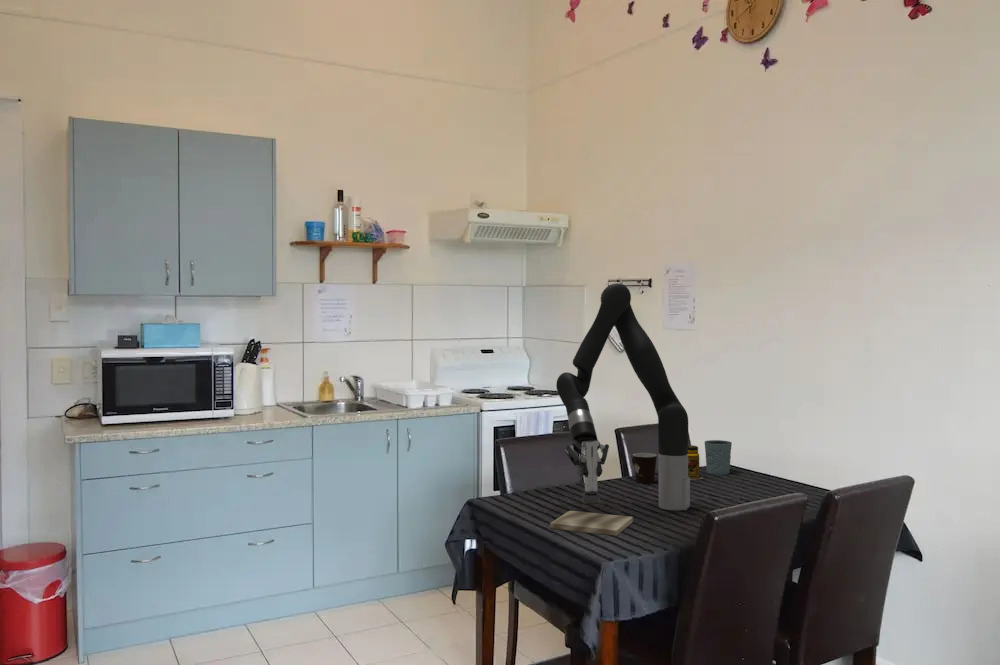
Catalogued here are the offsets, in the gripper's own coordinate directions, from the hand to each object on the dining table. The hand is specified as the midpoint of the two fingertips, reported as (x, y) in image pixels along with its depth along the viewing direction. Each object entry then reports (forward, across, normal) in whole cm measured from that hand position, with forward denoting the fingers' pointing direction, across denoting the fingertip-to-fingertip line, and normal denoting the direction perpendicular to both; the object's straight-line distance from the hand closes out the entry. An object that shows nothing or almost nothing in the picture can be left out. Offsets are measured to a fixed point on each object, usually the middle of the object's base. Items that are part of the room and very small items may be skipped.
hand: (593, 475), depth 232 cm
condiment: (-31, +55, +52) cm, 82 cm away
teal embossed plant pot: (-35, +69, +56) cm, 96 cm away
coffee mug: (-29, +36, +50) cm, 68 cm away
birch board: (+9, 0, +12) cm, 15 cm away
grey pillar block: (+5, 0, +7) cm, 9 cm away
